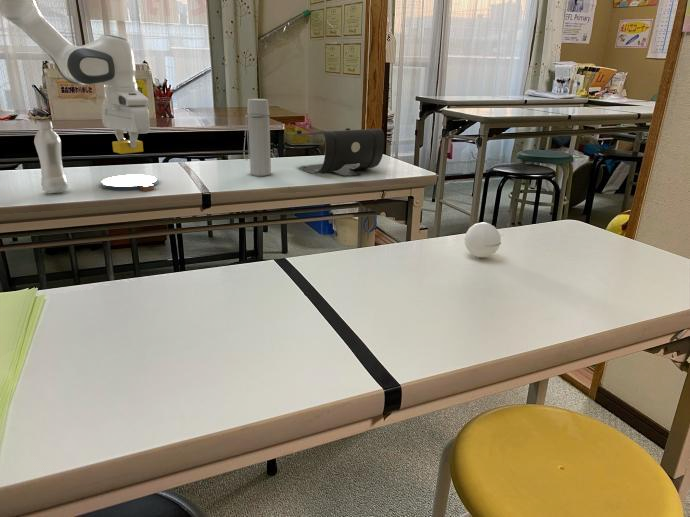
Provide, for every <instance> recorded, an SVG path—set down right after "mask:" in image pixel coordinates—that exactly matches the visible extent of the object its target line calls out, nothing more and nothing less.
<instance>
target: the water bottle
mask: <svg viewBox="0 0 690 517" xmlns="http://www.w3.org/2000/svg"><path fill="white" fill-rule="evenodd" d="M269 106H270V105H269V100H268V99H266V98H247V110H246V111H247V112H246V114H244V118H245V124H244V125H245V126H244V127H245V128H244V135H246V138H244V139H243V140H244V141H243V150H245V146H246V142H248V143H247V155H248V157H247V158H246V155H245V153H243V158H244V161H248V160H249V172H250V174H251V175H252V176H254V177H267V176H270V175H271V173H272V163H271V162H272V161H271V160H272V159H271V127H270V126H271V125H270V124H271V122H270V115H271V113H270V108H269ZM247 129H248V130H247ZM246 139H247V141H246Z"/></svg>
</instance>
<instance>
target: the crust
mask: <svg viewBox="0 0 690 517" xmlns="http://www.w3.org/2000/svg"><path fill="white" fill-rule="evenodd" d="M139 188H140V189H139V190H140V191H142V192H149V191H154V190H155V185H153V184H149V183H146V184H141V185H139Z"/></svg>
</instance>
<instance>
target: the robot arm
mask: <svg viewBox="0 0 690 517" xmlns="http://www.w3.org/2000/svg"><path fill="white" fill-rule="evenodd" d="M0 16H1V17H3V18H5V20H7V21H9V22H10V23H12V24H13V25H15V26H16V27H18V28H19V29H20V30H22V31H23V32H24V34H26V35H27V36H28V37H29V39H31V40H32V41H33V42H34V43H35V44H36V45H38V47H40V48H41V49H42V50H43V51H44V52H45V53H46V54H47V55H48V56H49V57H50V59H51V60H52V62H53V64H54V65H55V67H56V70H57V71H58V74H59V75H60V76H61V77H62V78H63V79H64V80H65V81H67V82H68V83H70V84H73V85H79V86H80V85H81V86H83V85H84V86H93V85H96V84H100V83H102V84H103V90H104V98H103V102H102V103H101V121H102V125H103V127H104V128H108V129H113V131H114V135H115V136H116V137H115V138H116V139H117V141H124V140H127V139H126V138H125V136H124V132H127V133H128V136H129V139H128V140H129V141H128V144H129V147H131V148H136V147H137V143H136V141H137V140H138V137H139V135H141V134H148V133H149V132H150V129H151V123H150V112H149V109H148V107H147V106H149V98H148V97H147V96H145V95H144V93H142V92H140V90H139V88H138V83H137V80H136V72H137V69H136V68H137V67H136V60H135V54H134V50H133V46H132V44H131V42H130V41H128V39H126V38H124V37H121V36H117V35H111V34H101V35H99V37H98V38H96V39H94V40H92V41H91V42H88V43H86V44H83V45H81V46H77V45H75V44H74V43H71V42H69V41H68V40H67V39H66V38H65V37H64V36H63V35H62V34H61V33H60V32H59V31H58V30H57V29H56V28H55V27H54V26H53V25H52V24H51V23H50V22H49V21H48V19H46V18H45V17H44V15H42V13H41V11H40V9H39V8H38V6H37V3H36V0H0Z"/></svg>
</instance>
